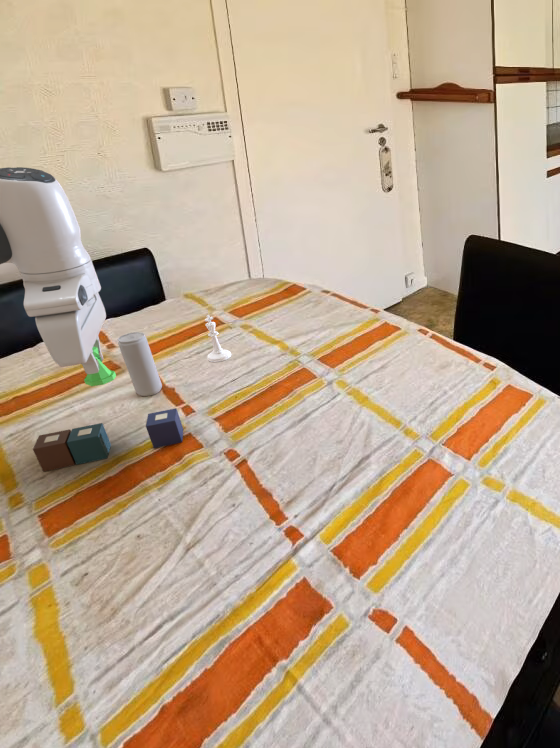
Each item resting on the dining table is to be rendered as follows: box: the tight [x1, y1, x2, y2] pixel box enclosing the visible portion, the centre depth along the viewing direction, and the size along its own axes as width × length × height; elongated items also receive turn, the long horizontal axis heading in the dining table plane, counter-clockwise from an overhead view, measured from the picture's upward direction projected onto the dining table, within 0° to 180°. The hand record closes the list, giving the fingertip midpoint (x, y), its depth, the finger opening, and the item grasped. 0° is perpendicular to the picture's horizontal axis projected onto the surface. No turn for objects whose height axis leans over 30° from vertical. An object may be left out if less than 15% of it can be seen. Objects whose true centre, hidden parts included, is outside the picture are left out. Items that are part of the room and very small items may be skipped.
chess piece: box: [204, 314, 232, 363], centre depth 136 cm, size 5×5×10 cm
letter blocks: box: [32, 408, 184, 472], centre depth 106 cm, size 21×4×5 cm, turn 112°
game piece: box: [83, 347, 117, 387], centre depth 98 cm, size 4×4×6 cm
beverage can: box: [117, 331, 163, 397], centre depth 122 cm, size 5×5×12 cm
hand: (95, 367), depth 98 cm, fingers closed on game piece, 2 cm apart
